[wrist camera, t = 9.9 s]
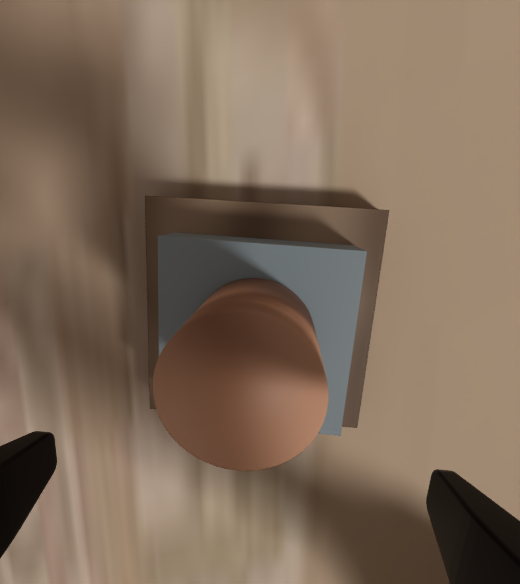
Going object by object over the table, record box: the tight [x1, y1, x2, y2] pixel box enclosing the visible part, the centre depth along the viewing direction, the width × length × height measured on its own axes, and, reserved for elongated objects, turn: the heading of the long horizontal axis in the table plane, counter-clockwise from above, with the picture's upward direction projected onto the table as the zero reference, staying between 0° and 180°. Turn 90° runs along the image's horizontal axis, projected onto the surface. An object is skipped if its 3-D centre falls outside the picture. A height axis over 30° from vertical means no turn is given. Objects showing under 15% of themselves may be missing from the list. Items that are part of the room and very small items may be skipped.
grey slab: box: [158, 232, 367, 436], centre depth 16 cm, size 9×9×2 cm
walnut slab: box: [145, 196, 389, 428], centre depth 19 cm, size 12×12×2 cm
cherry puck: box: [153, 278, 328, 471], centre depth 13 cm, size 6×6×5 cm
